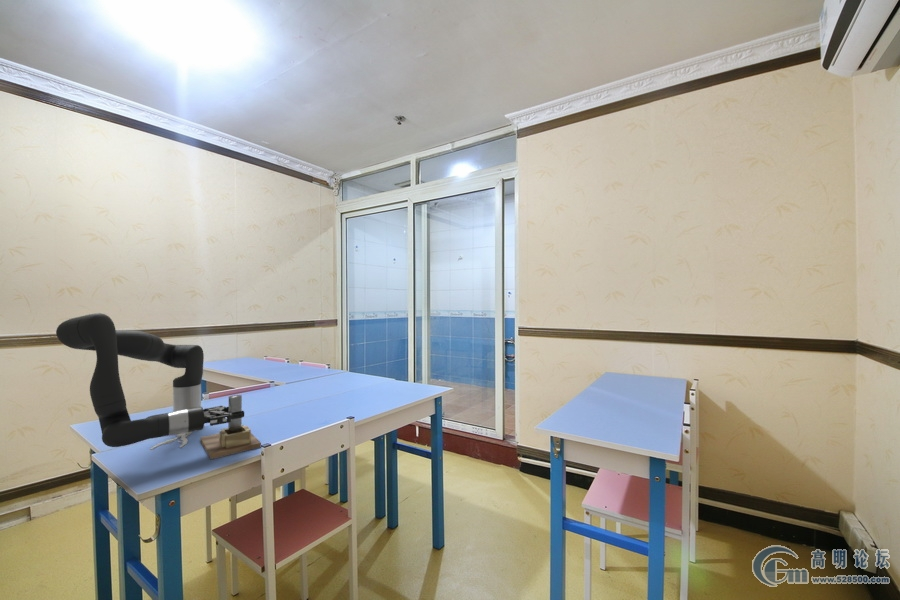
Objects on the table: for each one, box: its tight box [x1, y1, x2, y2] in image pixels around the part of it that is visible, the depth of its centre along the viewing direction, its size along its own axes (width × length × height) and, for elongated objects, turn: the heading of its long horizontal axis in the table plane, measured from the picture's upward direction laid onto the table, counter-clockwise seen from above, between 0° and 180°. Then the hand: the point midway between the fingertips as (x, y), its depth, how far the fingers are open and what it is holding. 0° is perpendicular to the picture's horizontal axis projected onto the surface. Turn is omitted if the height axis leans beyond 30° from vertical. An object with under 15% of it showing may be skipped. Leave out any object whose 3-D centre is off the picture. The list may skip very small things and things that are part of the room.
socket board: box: [199, 424, 262, 460], centre depth 133 cm, size 20×15×6 cm
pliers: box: [150, 432, 193, 451], centre depth 136 cm, size 10×2×15 cm
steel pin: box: [227, 394, 243, 434], centre depth 131 cm, size 4×4×16 cm
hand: (241, 410), depth 133 cm, fingers open, 8 cm apart
